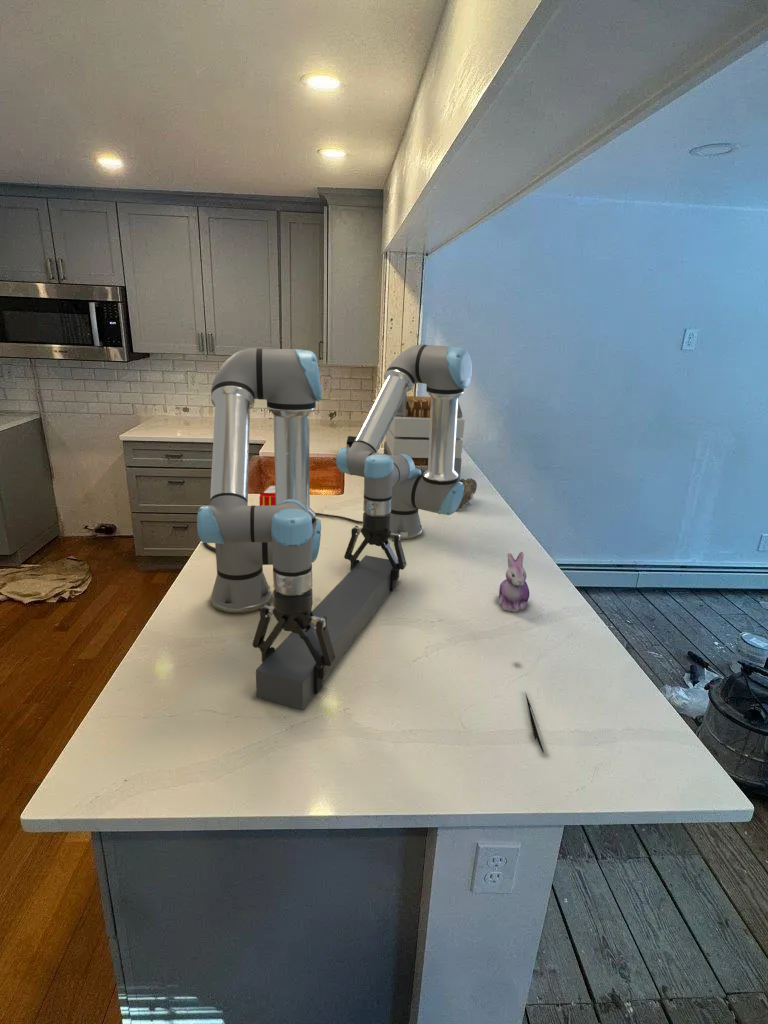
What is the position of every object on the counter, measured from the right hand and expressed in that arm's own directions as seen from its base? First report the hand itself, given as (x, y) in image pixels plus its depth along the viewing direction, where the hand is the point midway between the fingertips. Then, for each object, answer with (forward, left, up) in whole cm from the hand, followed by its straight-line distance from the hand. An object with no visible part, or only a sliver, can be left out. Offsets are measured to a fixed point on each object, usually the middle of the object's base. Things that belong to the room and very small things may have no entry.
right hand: (374, 585), depth 161 cm
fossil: (-37, +77, -1) cm, 85 cm away
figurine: (+30, +25, -1) cm, 39 cm away
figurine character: (-129, +92, -1) cm, 158 cm away
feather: (+58, -7, -1) cm, 59 cm away
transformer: (-79, +94, -1) cm, 123 cm away
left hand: (+24, -42, 0) cm, 48 cm away
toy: (-63, +7, -1) cm, 63 cm away
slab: (+12, -21, -1) cm, 24 cm away
